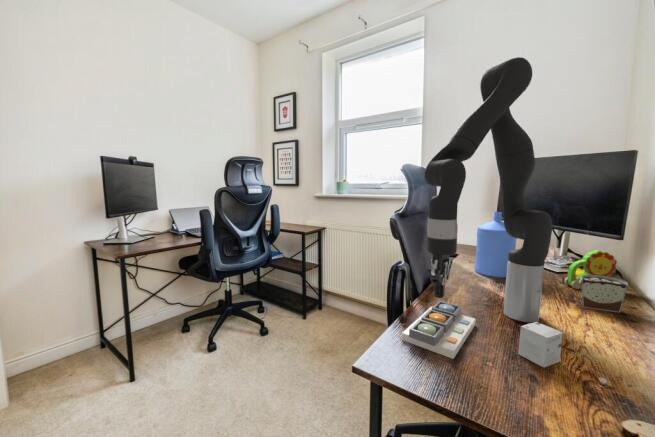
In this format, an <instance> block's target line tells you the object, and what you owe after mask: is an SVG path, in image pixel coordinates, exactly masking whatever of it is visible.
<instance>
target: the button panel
mask: <svg viewBox="0 0 655 437" xmlns="http://www.w3.org/2000/svg"><path fill="white" fill-rule="evenodd" d="M441 304H448V305H451V306H453V307H454V308H455V312H454V313H452V312H448V311H444V310H441V309H439V305H441ZM432 313H438V314H442V315H444V316H445V317H446V322H445V323H441V322H438V321H434V320H431V319H429V315H430V314H432ZM420 324H430V325H432V326H434V327H435V328H436V334H435V335H434V336H433V335H430V334H427V333H424V332H421V331H418V325H420ZM475 326H476V318H475V317H471V316H467V315H464V314H462V306H460V305H456V304H453V303H450V302H449V303H448V302H446V301H441V300H439V301H437V303H435V304H434V305H433V306H429V308H428V309H426V311H425V312H424V313H422V314H421V315H420V316H419V317H418V318H417V319H416V320H415V321H414V322H413V323H411V324H410V325H409V326H408V327H407V328H406V329H405V330H404V331H403V332H402V334H401V335H402V336H401V340H402V341H404V342H407V343H410V344H412V345H414V346H417V347H421V348H422V349H426V350H428V351H431V352H433V353H436V354H439V355H442V356H444V357H447V358H449V359H452V360H454V359H455V357H456V356H457V354H458V352H459V351H460V350H461V348H462V347H463V345H464V343H465V342H466V340H467V338H468V337H469V335H470V334H471V332H472V331H473V329H474V328H475Z"/></svg>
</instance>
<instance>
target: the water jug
mask: <svg viewBox="0 0 655 437" xmlns="http://www.w3.org/2000/svg"><path fill="white" fill-rule="evenodd" d="M502 215H503V211H494V212H493V220H492V221H490V222H489V221H488V222H487V223H484V224H481V225H478V227H477V230H476V248H475V250H476V251H475V262H474V270H475V273H478V274H480V275H482V276H486V277H491V278H497V279H499V278H501V279H502V278H503V279H504V278H505V279H506V275H507V263H508V254H509V252H510V251H511V250H516V245H517V239H518V238H514V237H512V236H510V235H509V234H508V233H507V232H506V230H505V226H504V221H502V217H503V216H502Z"/></svg>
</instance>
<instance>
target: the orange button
mask: <svg viewBox="0 0 655 437" xmlns="http://www.w3.org/2000/svg"><path fill="white" fill-rule="evenodd" d="M429 319H431V320H434V321H438V322H441V323H445V322H446V317H445V316H444V315H442V314H438V313H432V314H430V315H429Z"/></svg>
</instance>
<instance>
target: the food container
mask: <svg viewBox="0 0 655 437" xmlns="http://www.w3.org/2000/svg"><path fill="white" fill-rule="evenodd" d="M579 283H581V284H582V288H581V307H582V308H586V309H593V310H599V311H606V312H613V313H621V311H622V306H623V302H624V299H625V297H626V293H627V290H630V284H629V283H628V282H627V281H625V280H622V279H619V278H615V277H611V276H607V277H606V276H599V275H583V276H582V277H581V278H580V281H579Z"/></svg>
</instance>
